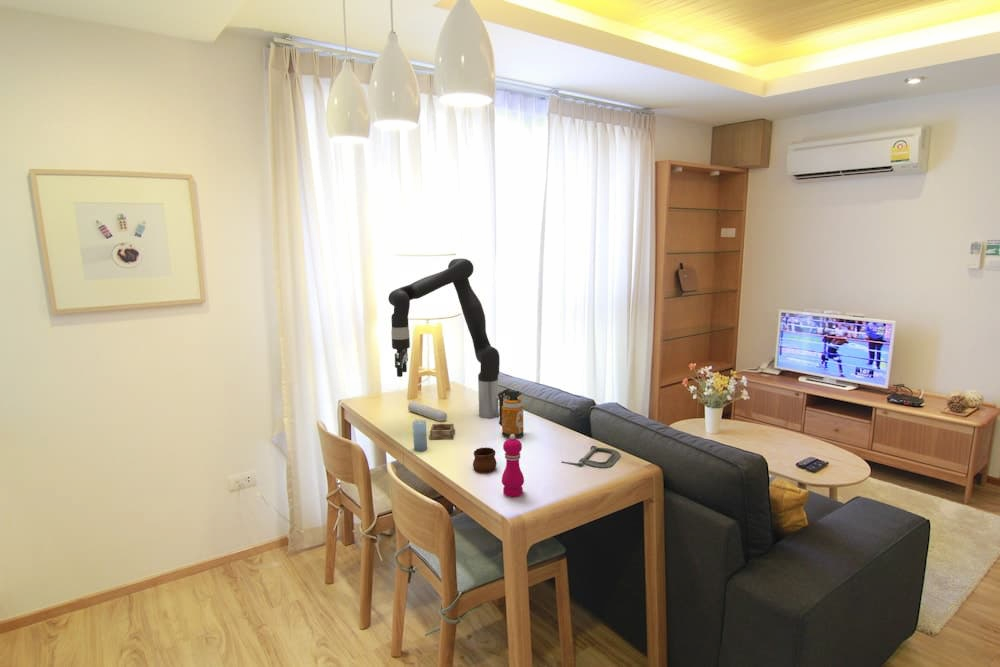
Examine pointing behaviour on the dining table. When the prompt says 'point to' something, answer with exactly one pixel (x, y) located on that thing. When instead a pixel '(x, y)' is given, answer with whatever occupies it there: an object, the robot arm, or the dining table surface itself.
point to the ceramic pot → (484, 460)
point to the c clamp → (606, 464)
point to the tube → (427, 411)
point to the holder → (442, 432)
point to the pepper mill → (512, 468)
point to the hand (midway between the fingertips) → (402, 374)
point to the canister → (511, 413)
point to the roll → (420, 435)
